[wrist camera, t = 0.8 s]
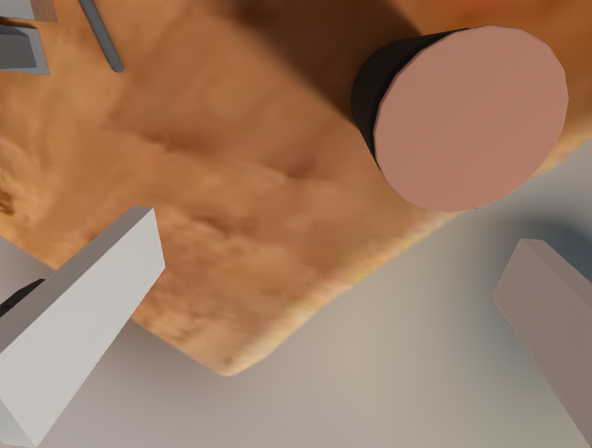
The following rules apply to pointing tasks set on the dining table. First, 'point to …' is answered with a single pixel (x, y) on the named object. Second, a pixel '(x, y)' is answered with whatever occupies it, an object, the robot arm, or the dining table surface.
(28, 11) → the breaker panel
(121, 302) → the robot arm
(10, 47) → the dark grey rectangular block
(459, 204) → the coffee jar
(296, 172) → the dining table surface
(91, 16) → the dark grey thin rod
